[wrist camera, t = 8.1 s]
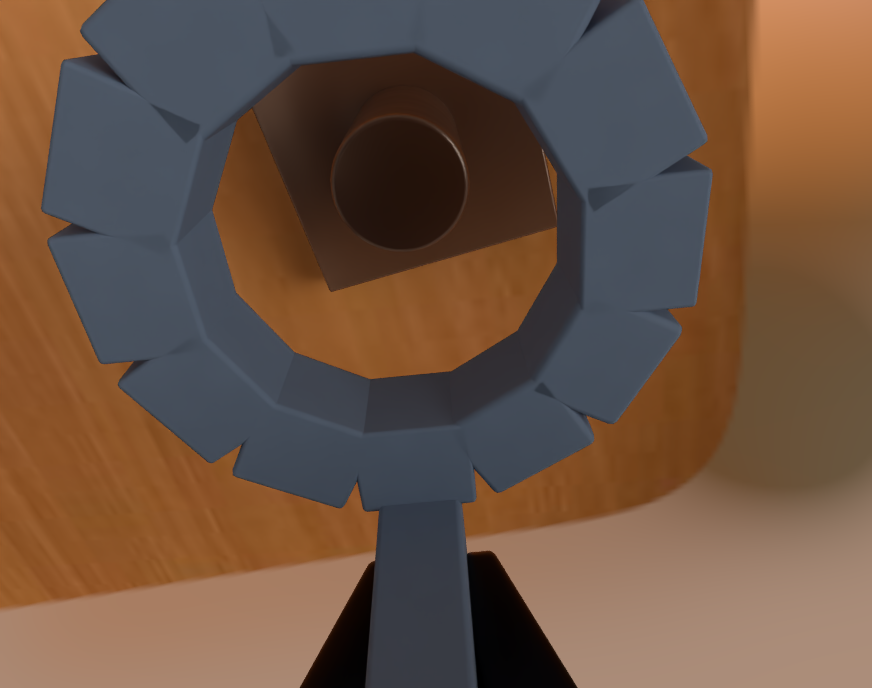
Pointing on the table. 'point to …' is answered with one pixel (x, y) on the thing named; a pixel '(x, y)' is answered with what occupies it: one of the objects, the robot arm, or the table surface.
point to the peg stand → (402, 165)
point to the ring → (333, 387)
